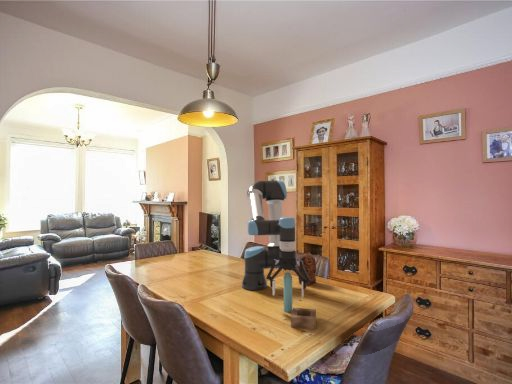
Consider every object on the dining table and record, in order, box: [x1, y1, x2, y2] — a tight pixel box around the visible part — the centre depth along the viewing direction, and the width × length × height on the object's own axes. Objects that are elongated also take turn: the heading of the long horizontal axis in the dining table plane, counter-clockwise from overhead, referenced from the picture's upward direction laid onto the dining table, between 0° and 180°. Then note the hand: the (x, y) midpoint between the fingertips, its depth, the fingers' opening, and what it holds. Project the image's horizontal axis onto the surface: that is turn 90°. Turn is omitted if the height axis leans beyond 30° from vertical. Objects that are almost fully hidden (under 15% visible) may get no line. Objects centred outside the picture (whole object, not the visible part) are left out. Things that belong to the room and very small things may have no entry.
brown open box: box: [290, 307, 317, 330], centre depth 115 cm, size 10×10×4 cm
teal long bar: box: [283, 271, 293, 313], centre depth 128 cm, size 4×4×18 cm
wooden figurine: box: [297, 253, 317, 286], centre depth 169 cm, size 12×6×18 cm, turn 124°
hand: (288, 295), depth 128 cm, fingers open, 13 cm apart
